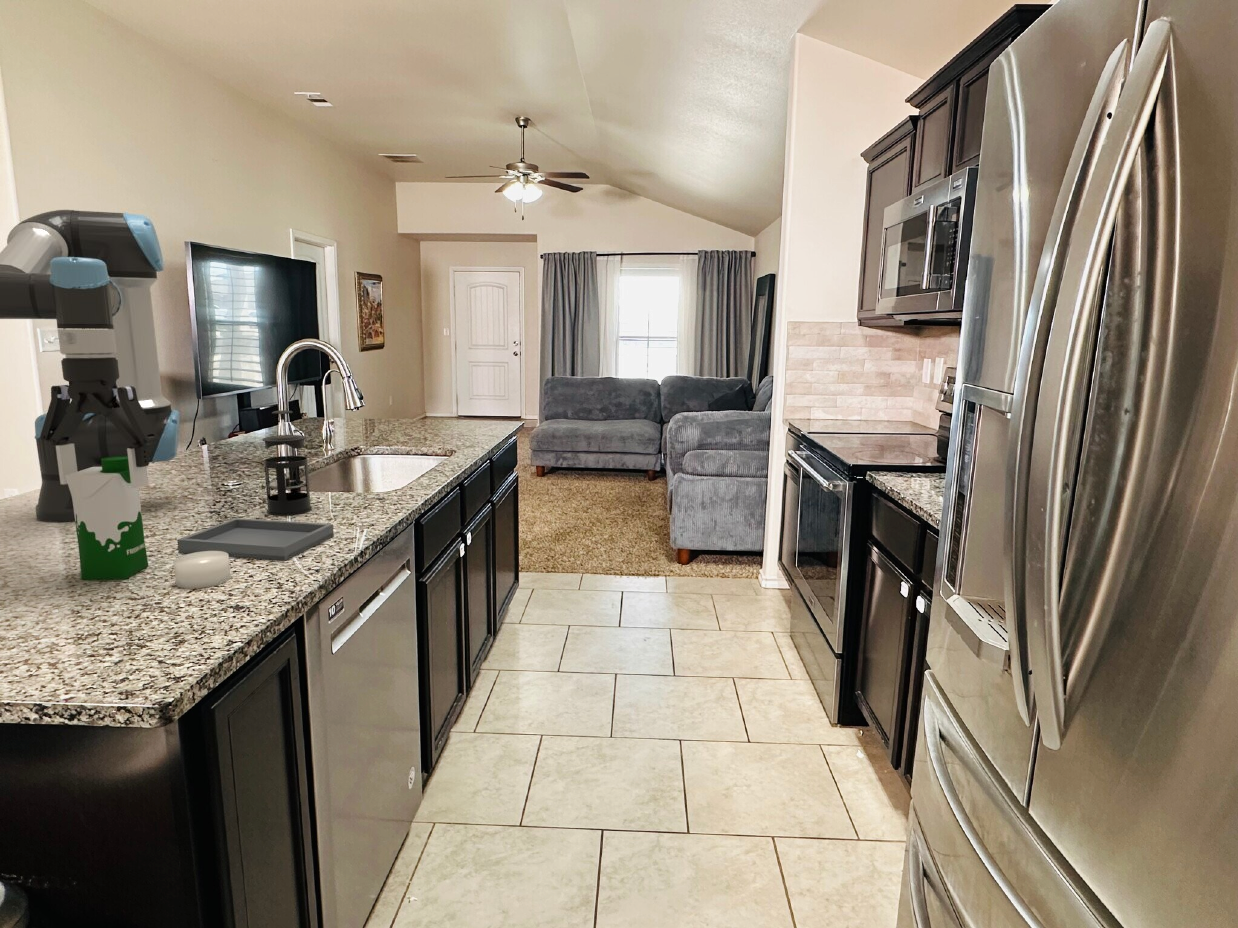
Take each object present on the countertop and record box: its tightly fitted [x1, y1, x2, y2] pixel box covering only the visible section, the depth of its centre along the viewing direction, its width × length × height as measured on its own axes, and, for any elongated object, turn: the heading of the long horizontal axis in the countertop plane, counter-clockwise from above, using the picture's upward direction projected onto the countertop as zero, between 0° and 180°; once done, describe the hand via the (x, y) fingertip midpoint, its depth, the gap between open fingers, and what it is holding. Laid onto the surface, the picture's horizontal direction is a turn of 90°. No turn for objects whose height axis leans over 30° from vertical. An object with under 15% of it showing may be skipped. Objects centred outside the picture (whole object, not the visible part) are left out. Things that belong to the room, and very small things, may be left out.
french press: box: [262, 410, 313, 517], centre depth 168 cm, size 12×9×23 cm
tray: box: [176, 517, 335, 561], centre depth 144 cm, size 22×16×2 cm
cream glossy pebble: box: [173, 551, 231, 589], centre depth 124 cm, size 8×8×4 cm
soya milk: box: [65, 456, 149, 581], centre depth 125 cm, size 9×9×20 cm
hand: (104, 484), depth 124 cm, fingers open, 13 cm apart
